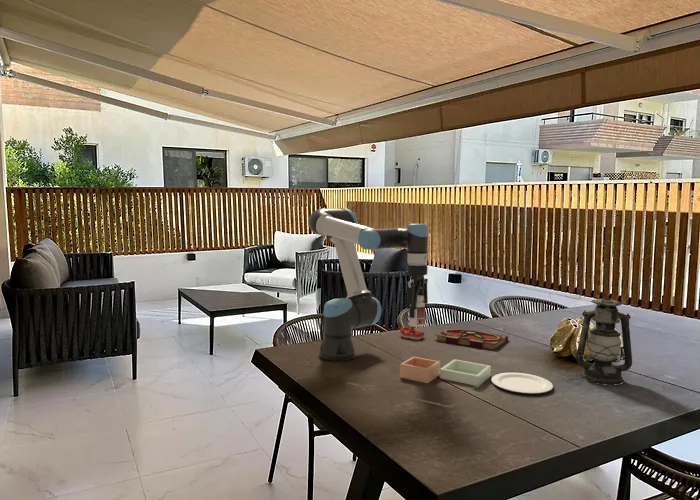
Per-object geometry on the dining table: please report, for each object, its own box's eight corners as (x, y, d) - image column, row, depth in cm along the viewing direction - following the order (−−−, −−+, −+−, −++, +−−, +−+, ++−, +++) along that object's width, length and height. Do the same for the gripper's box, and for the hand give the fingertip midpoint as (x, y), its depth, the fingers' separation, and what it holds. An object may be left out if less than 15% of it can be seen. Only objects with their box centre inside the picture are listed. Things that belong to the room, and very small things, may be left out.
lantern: (627, 375, 196) (632, 297, 194) (637, 393, 178) (642, 306, 176) (573, 369, 202) (577, 293, 200) (577, 386, 185) (582, 302, 182)
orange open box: (399, 378, 190) (400, 363, 189) (413, 370, 199) (413, 356, 199) (427, 384, 184) (428, 369, 184) (439, 376, 193) (440, 361, 193)
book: (507, 342, 245) (508, 332, 244) (494, 352, 227) (495, 340, 227) (450, 334, 260) (451, 324, 260) (433, 342, 242) (434, 331, 242)
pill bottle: (428, 325, 199) (428, 296, 198) (415, 327, 195) (415, 297, 194) (417, 322, 204) (417, 294, 203) (405, 324, 200) (405, 295, 200)
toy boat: (404, 334, 254) (405, 319, 254) (426, 338, 248) (426, 322, 247) (397, 337, 248) (397, 321, 247) (419, 341, 242) (419, 325, 241)
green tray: (439, 379, 190) (439, 369, 189) (454, 369, 201) (454, 359, 201) (477, 387, 182) (478, 376, 182) (490, 376, 194) (490, 365, 193)
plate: (522, 401, 171) (522, 396, 171) (478, 381, 189) (479, 377, 189) (566, 391, 180) (566, 386, 180) (521, 373, 199) (521, 369, 199)
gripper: (415, 267, 188) (414, 330, 189) (436, 262, 204) (436, 321, 205) (396, 266, 192) (396, 328, 194) (419, 261, 208) (419, 318, 209)
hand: (417, 324), depth 199 cm, fingers closed on pill bottle, 6 cm apart
